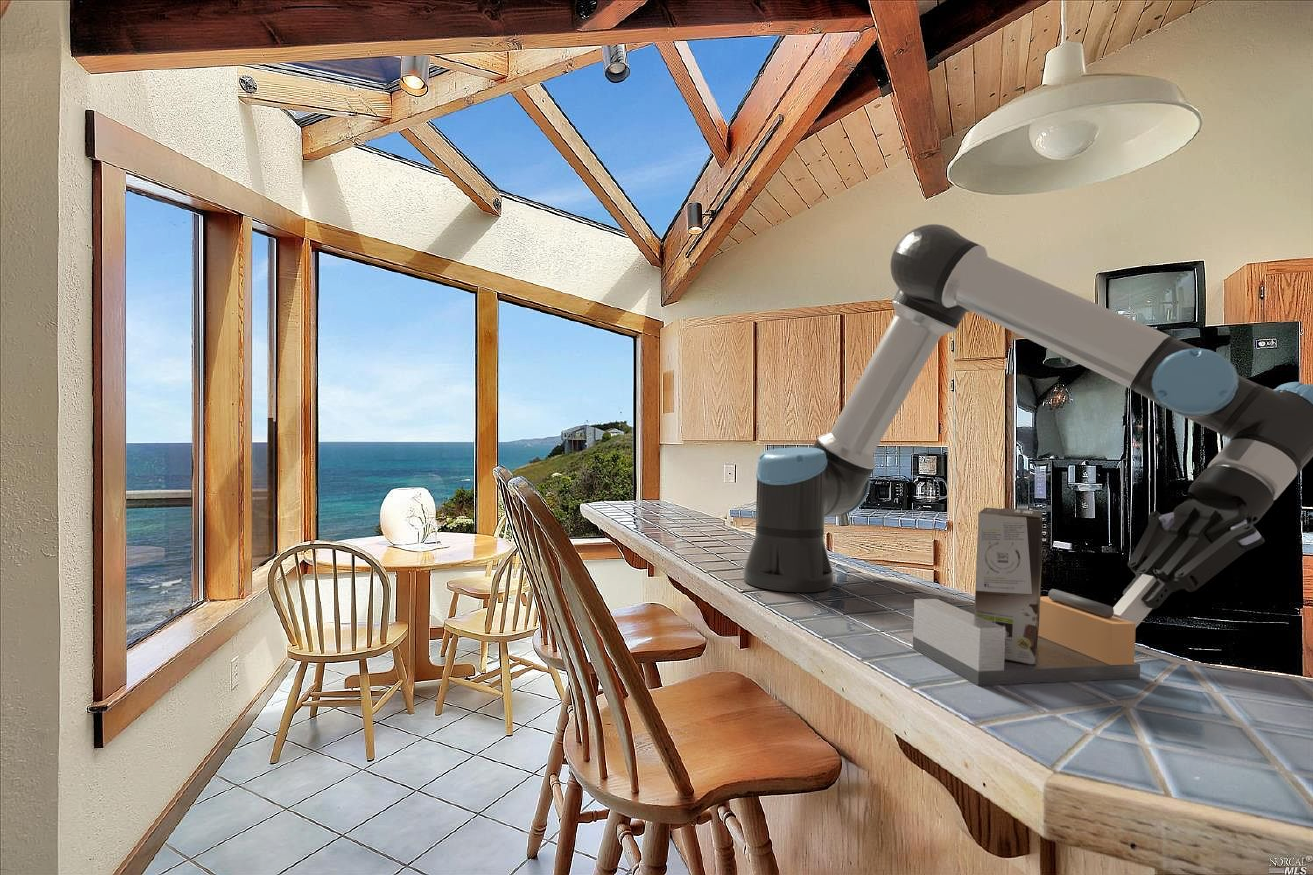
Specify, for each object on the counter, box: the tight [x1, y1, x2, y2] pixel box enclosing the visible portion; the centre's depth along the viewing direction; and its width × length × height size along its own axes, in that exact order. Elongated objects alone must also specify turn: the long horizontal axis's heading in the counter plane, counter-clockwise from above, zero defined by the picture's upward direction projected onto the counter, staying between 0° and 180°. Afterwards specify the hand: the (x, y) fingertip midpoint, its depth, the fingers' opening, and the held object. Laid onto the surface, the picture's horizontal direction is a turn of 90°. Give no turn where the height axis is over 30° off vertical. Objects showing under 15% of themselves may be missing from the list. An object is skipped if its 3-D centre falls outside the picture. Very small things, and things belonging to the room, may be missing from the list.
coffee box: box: [974, 507, 1044, 665], centre depth 76 cm, size 9×6×16 cm
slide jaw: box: [1038, 588, 1137, 665], centre depth 78 cm, size 12×3×6 cm, turn 11°
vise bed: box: [912, 598, 1141, 687], centre depth 77 cm, size 12×20×6 cm, turn 101°
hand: (1121, 621), depth 79 cm, fingers closed
